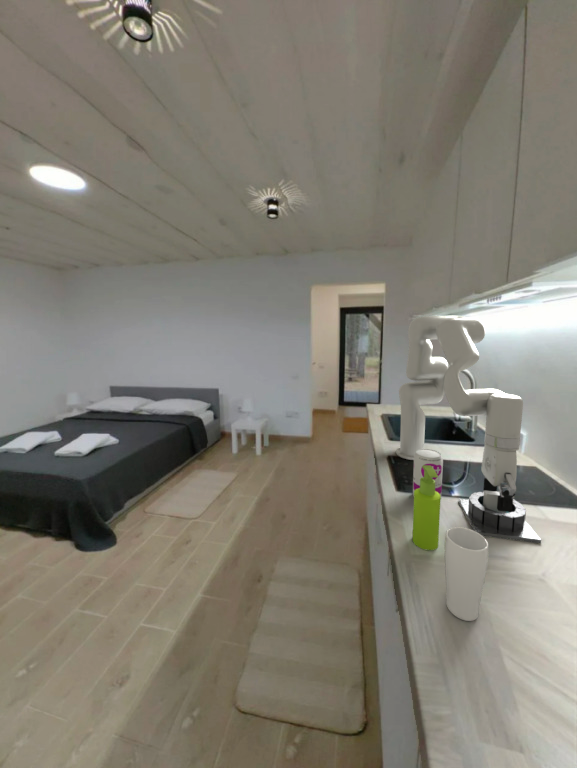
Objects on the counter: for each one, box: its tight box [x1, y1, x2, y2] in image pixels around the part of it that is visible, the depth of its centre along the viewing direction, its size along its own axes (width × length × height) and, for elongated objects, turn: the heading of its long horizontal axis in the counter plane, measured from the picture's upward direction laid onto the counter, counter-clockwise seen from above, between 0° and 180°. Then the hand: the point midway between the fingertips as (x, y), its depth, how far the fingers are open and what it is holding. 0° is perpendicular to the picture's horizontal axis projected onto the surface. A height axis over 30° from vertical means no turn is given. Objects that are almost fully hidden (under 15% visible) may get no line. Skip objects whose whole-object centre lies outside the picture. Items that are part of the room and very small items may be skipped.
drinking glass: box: [444, 526, 489, 622], centre depth 55 cm, size 7×7×15 cm
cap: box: [481, 490, 509, 513], centre depth 82 cm, size 7×7×7 cm
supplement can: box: [412, 448, 444, 497], centre depth 94 cm, size 8×8×15 cm
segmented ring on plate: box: [458, 491, 542, 544], centre depth 82 cm, size 16×14×5 cm
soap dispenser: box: [412, 465, 442, 551], centre depth 73 cm, size 6×7×20 cm
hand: (496, 500), depth 82 cm, fingers open, 9 cm apart
